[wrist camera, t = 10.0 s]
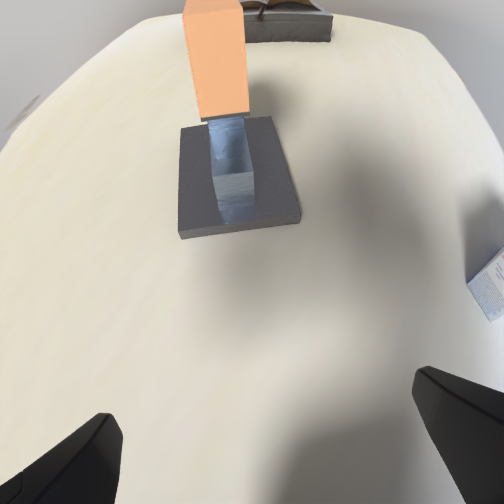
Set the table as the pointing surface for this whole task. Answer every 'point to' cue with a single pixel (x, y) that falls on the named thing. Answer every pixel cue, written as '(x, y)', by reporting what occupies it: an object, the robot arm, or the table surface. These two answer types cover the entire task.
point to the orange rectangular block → (217, 57)
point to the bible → (285, 21)
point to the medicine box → (490, 287)
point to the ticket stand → (233, 178)
